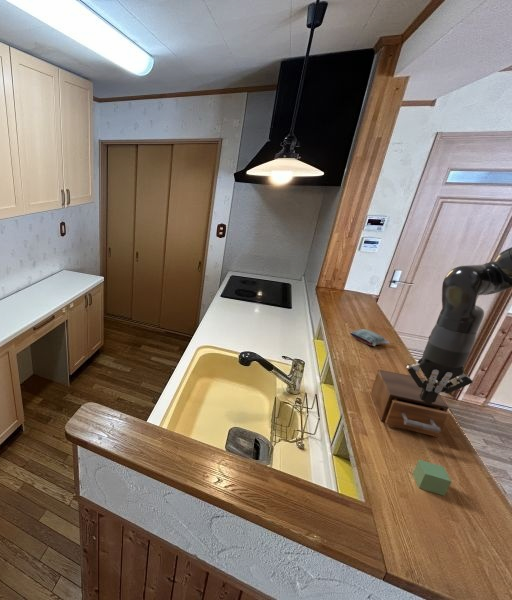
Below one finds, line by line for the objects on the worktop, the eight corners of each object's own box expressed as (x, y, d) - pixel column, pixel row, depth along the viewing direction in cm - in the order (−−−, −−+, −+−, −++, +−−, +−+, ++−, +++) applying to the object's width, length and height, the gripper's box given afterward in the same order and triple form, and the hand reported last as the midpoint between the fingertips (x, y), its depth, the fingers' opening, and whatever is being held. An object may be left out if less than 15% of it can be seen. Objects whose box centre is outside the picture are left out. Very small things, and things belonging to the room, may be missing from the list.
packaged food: (364, 335, 148) (366, 325, 146) (389, 347, 137) (392, 337, 135) (347, 337, 147) (350, 327, 145) (371, 349, 136) (375, 339, 134)
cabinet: (436, 435, 90) (448, 407, 87) (380, 421, 96) (389, 394, 93) (419, 404, 103) (429, 379, 99) (370, 393, 108) (378, 369, 105)
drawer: (445, 449, 85) (455, 425, 82) (390, 435, 90) (398, 412, 87) (421, 408, 100) (429, 386, 97) (375, 397, 105) (382, 377, 102)
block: (437, 480, 77) (443, 466, 75) (444, 496, 73) (451, 481, 72) (412, 473, 79) (418, 459, 77) (418, 488, 75) (425, 473, 74)
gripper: (419, 344, 79) (398, 402, 85) (494, 357, 74) (466, 418, 80) (410, 332, 85) (390, 387, 92) (478, 343, 80) (453, 400, 86)
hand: (426, 401), depth 86 cm, fingers closed
